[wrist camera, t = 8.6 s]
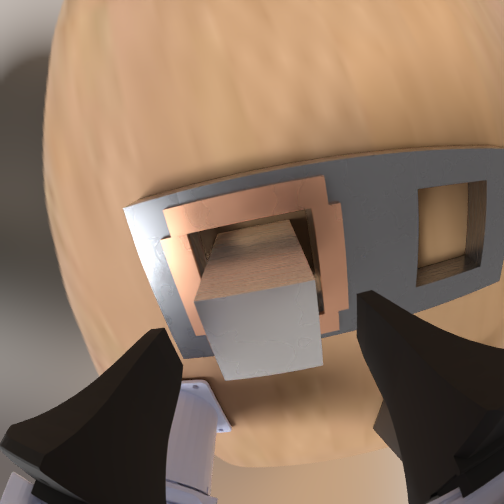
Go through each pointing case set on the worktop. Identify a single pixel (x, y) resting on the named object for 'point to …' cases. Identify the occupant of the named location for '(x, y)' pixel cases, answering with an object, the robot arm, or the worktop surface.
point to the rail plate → (330, 231)
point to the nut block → (260, 303)
